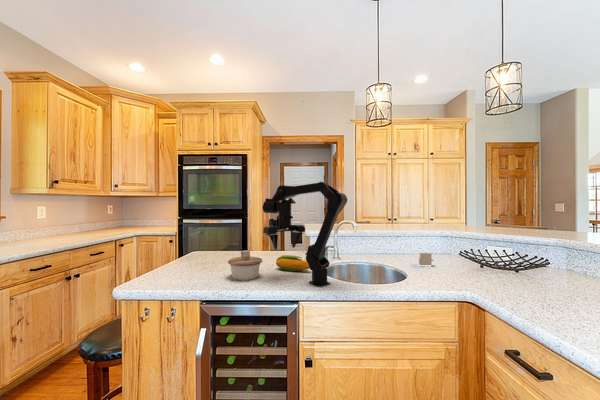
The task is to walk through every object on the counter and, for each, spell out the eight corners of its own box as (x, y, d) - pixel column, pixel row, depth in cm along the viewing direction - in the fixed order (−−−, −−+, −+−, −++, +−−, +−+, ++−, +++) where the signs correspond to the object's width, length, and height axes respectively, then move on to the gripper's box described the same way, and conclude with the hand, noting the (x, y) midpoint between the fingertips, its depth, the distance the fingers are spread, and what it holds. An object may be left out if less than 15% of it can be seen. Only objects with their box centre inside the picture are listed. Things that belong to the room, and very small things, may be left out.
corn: (279, 252, 139) (316, 255, 131) (280, 266, 140) (316, 270, 132) (272, 255, 133) (310, 259, 125) (273, 270, 133) (310, 275, 125)
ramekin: (263, 273, 127) (263, 258, 127) (255, 282, 114) (256, 265, 114) (235, 272, 128) (235, 258, 128) (225, 281, 115) (225, 264, 115)
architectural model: (418, 265, 145) (418, 251, 145) (432, 266, 144) (432, 252, 144) (419, 267, 142) (419, 253, 142) (434, 267, 140) (434, 253, 140)
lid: (267, 263, 119) (267, 252, 119) (235, 267, 111) (235, 255, 111) (254, 256, 131) (254, 247, 131) (223, 260, 123) (223, 250, 123)
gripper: (292, 212, 131) (292, 244, 131) (257, 213, 121) (257, 247, 121) (305, 213, 122) (305, 247, 122) (269, 214, 112) (269, 252, 112)
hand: (284, 248), depth 120 cm, fingers open, 9 cm apart
